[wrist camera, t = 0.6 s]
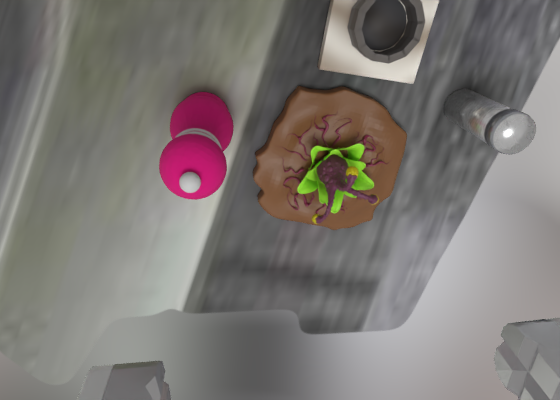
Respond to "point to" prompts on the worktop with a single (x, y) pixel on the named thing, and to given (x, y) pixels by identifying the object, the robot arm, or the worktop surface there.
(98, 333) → the worktop surface
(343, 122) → the plant
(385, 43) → the duct board
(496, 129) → the frosted cylinder in socket
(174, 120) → the pepper mill
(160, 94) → the worktop surface
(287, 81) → the worktop surface
